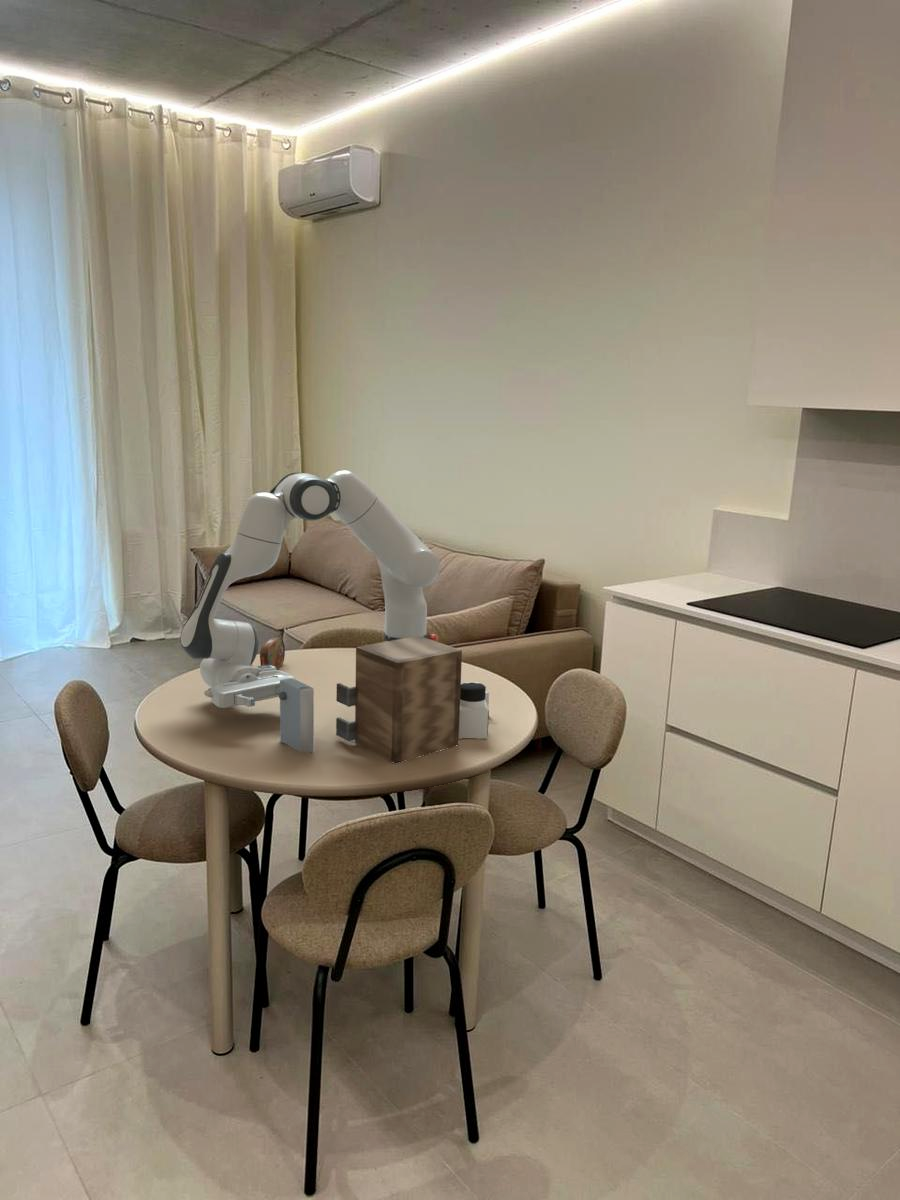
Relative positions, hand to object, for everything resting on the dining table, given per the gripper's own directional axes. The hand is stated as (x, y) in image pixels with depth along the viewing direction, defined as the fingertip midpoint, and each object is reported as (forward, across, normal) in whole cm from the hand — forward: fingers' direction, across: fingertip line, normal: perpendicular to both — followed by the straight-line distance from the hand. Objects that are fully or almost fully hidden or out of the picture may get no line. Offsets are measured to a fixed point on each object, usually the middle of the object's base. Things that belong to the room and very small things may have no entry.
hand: (270, 699), depth 203 cm
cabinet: (+23, +19, +7) cm, 30 cm away
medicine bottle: (+28, +36, +8) cm, 46 cm away
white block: (+18, +45, +8) cm, 49 cm away
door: (+12, 0, +8) cm, 14 cm away
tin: (-42, +24, +8) cm, 49 cm away
